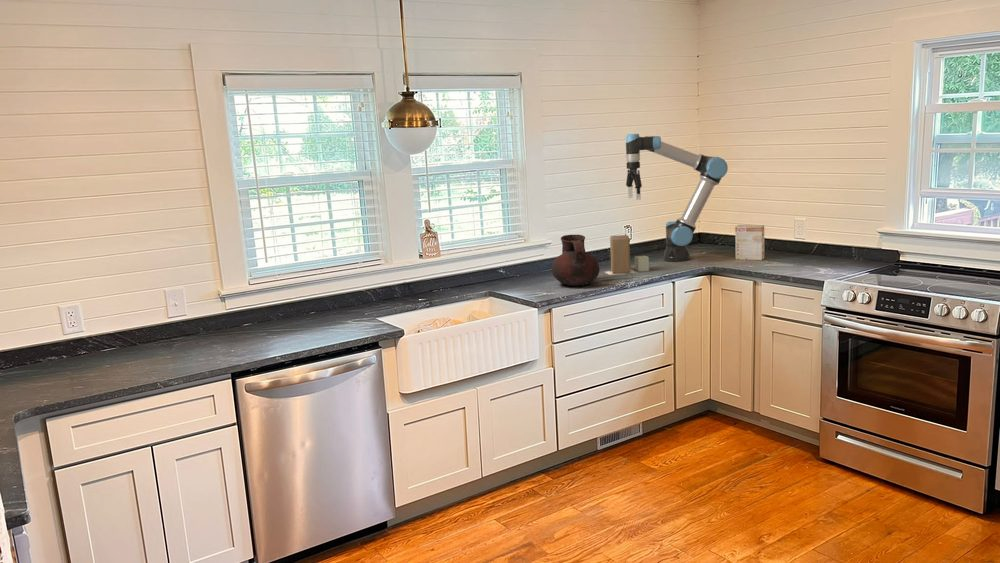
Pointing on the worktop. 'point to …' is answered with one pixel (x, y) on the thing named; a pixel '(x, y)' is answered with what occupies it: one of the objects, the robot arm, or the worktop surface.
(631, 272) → the letter
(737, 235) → the coffeecake box
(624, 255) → the wooden block
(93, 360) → the worktop surface
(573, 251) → the jug
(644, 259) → the sage block
